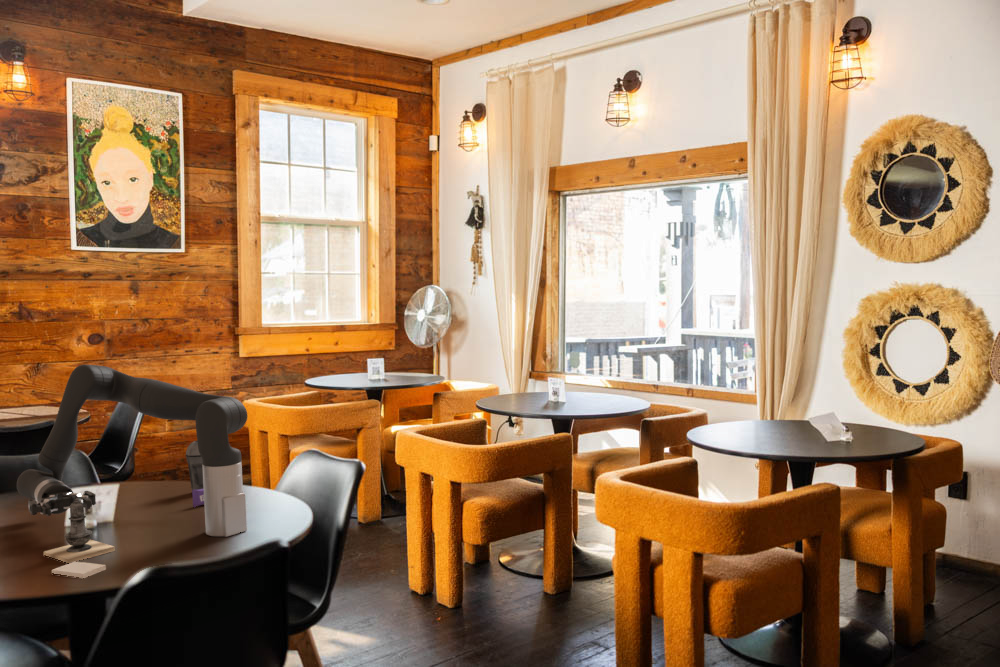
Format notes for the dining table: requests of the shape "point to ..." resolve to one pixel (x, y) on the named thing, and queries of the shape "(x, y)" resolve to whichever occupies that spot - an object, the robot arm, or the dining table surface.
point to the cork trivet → (70, 557)
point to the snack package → (198, 497)
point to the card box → (79, 569)
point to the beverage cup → (195, 466)
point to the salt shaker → (78, 529)
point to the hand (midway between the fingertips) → (69, 508)
